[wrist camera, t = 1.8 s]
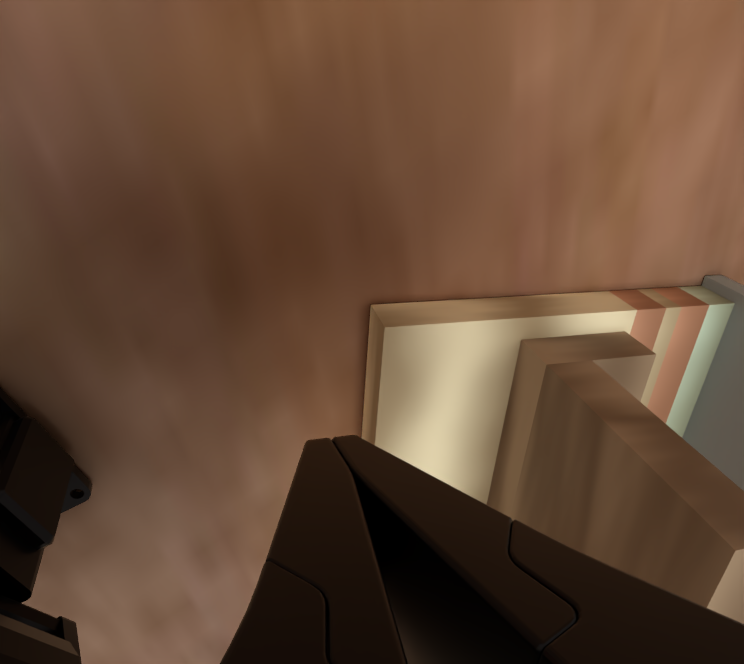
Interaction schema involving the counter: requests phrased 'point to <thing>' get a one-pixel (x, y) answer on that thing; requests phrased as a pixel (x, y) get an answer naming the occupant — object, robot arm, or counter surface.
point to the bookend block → (616, 471)
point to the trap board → (498, 360)
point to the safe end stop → (723, 392)
